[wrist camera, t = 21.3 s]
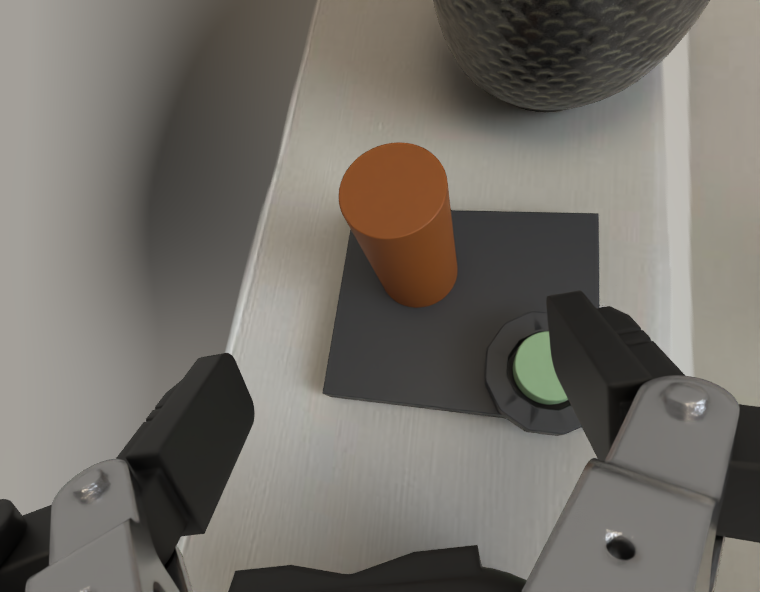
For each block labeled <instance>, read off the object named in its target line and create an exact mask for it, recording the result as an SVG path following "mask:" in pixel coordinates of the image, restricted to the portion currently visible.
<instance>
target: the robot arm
mask: <svg viewBox="0 0 760 592" xmlns="http://www.w3.org/2000/svg"><path fill="white" fill-rule="evenodd" d="M546 306H547V317H548V328H549V338H550V349H551V357H552V362H553V366H554V370H555V373H556V375H557V378H558V380H559V382H560V384H561V386H562V388H563V390H564V392H565V394H566V396H567V398H568V400H569V402H570V404H571V406H572V408H573V410H574V412H575V414H576V416H577V418H578V420H579V422H580V424H581V426H582V428H583V430H584V432H585V434H586V436H587V438H588V440H589V442H590V444H591V446H592V448H593V450H594V452H595V454H596V456H597V458H598V459H596V458H593V459H591V460H590V461H589V462H588V463H587V465H586V466H585V468H584V470H583V472H582V474H581V476H580V478H579V480H578V482H577V484H576V486H575V488H574V490H573V492H572V494H571V495H570V497H569V499H568V501H567V503H566V505H565V507H564V509H563V511H562V513H561V515H560V517H559V519H558V521H557V523H556V525H555V527H554V529H553V531H552V533H551V535H550V537H549V539H548V541H547V543H546V544H545V546H544V548H543V550H542V552H541V554H540V556H539V558H538V560H537V562H536V564H535V566H534V568H533V570H532V572H531V574H530V576H529V578H528V580H524V579H522V578H520V577H517V576H515V575H513V574H510V573H507V572H503V571H500V570H496V569H492V568H486V567H482V565H481V560H480V556H479V551H478V546H477V545H474V546H465V547H455V548H446V549H437V550H427V551H418V552H413V553H410V554H407V555H404V556H401V557H399V558H396V559H393V560H390V561H388V562H385V563H382V564H379V565H377V566H374V567H371V568H368V569H365V570H363V571H360V572H357V573H354V574H340V573H334V572H329V571H323V570H317V569H312V568H306V567H300V566H294V565H287V566H277V567H268V568H259V569H249V570H240V571H235V574H234V577H233V580H232V582H231V585H230V588H229V591H228V592H714V591H715V586H716V581H717V576H718V571H719V566H720V561H721V556H722V551H723V546H724V541H725V537H729V538H735V539H741V540H747V541H753V542H759V543H760V407H755V406H746V405H741V404H738V402H737V401H736V399H735V398H734V397H733V395H732V394H731V393H729V392H728V391H727V390H725V389H724V388H722V387H720V386H719V385H717V384H714V383H712V382H710V381H707V380H704V379H700V378H696V377H689V376H685V375H684V374H683V373H682V372H681V371H680V369H679V368H678V367H677V366H676V365H675V364H674V363H673V362H672V361H671V360H670V359H669V358H668V357H667V356H666V354H665V353H664V352H663V351H662V350H661V349H660V348H659V347H658V346H657V345H656V344H655V343H654V342H653V341H651V339H650V337H649V336H648V335H647V334H646V333H645V332H644V331H643V330H642V331H641V328H640V327H639V325H638V324H637V323H636V322H635V321H634V320H633V319H632V318H631V317H630V316H629V315H627V314H625V313H623V312H621V311H619V310H617V309H614V308H612V307H610V306H607V307H602V308H596V307H595V306H594V305H593V304H592V303H591V301H590V300H589V299H588V298H587V296H586V295H585V294H584V293H583V292H582V291H581V290H577V291H572V292H566V293H561V294H555V295H550V296H547V300H546ZM253 422H254V405H253V401H252V398H251V396H250V394H249V391H248V389H247V387H246V384H245V382H244V380H243V377H242V375H241V373H240V370H239V368H238V366H237V363H236V361H235V359H234V358H233V356H232V355H231V354H229V353H224V354H218V355H213V356H207V357H201V358H199V359H197V361H196V362H195V363H194V365H193V366H192V367H191V369H190V370H189V371H188V373H187V374H186V375H185V377H184V378H183V379H182V380H181V381H180V382H179V383H178V384H176V386H174V387H173V388H172V389H170V390H169V391H168V392H167V393H166V394H165V395H164V396H163V398H162V399H161V400H160V401H159V403H158V404H157V405H156V407H155V410H153V411H152V412H151V413H150V415H149V416H148V417H147V419H146V422H144V423H143V424H142V425H141V427H140V428H139V429H138V430H137V432H136V433H135V434H134V436H133V437H132V438H131V440H130V441H129V442H128V444H127V445H126V446H125V447H124V449H123V450H122V451H121V453H120V454H119V455H118V457H117V458H116V459H111V460H106V461H103V462H100V463H97V464H95V465H93V466H91V467H89V468H87V469H86V470H83V471H82V472H80V473H79V474H77V475H76V476H75V477H73V478H72V479H71V480H70V481H69V482H67V484H65V485H64V486H63V487H62V488H61V490H60V491H59V492H58V494H57V495H56V496H55V498H54V500H53V503H52V505H50V506H47V507H44V508H42V509H39V510H36V511H34V512H31V513H29V514H26V515H23V516H22V515H21V514H20V512H19V511H18V510H17V508H16V507H15V506H14V505H13V503H12V502H11V501H9V500H6V499H1V500H0V592H193V589H192V586H191V583H190V579H189V576H188V573H187V569H186V566H185V562H184V559H183V556H182V554H181V552H180V550H179V548H178V547H177V543H178V541H179V539H180V537H181V536H188V535H196V534H204V533H205V531H206V529H207V527H208V524H209V522H210V520H211V518H212V515H213V513H214V511H215V509H216V506H217V504H218V502H219V500H220V497H221V495H222V493H223V490H224V488H225V486H226V484H227V481H228V479H229V477H230V475H231V472H232V470H233V468H234V466H235V463H236V461H237V459H238V457H239V454H240V452H241V450H242V448H243V445H244V443H245V441H246V439H247V436H248V434H249V432H250V430H251V427H252V425H253Z"/></svg>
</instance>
